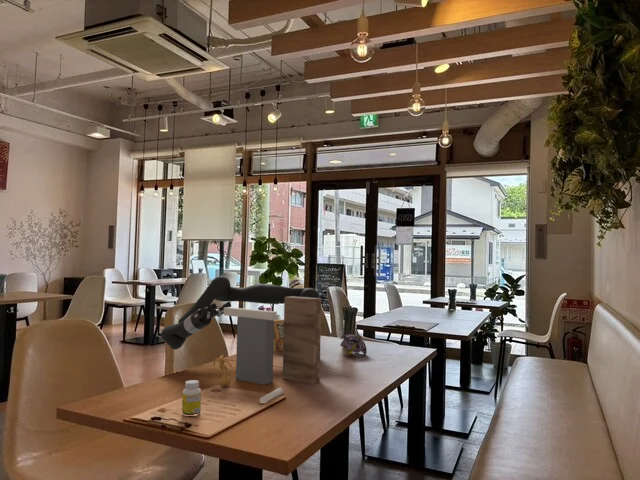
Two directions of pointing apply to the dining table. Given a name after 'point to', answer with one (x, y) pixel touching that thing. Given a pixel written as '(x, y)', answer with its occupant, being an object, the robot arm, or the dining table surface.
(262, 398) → the marker
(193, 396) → the supplement bottle
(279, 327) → the candy box
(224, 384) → the figurine
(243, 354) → the grey rectangular box
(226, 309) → the bar
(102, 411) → the dining table surface
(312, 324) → the tall wooden block
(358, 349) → the decorative flower
